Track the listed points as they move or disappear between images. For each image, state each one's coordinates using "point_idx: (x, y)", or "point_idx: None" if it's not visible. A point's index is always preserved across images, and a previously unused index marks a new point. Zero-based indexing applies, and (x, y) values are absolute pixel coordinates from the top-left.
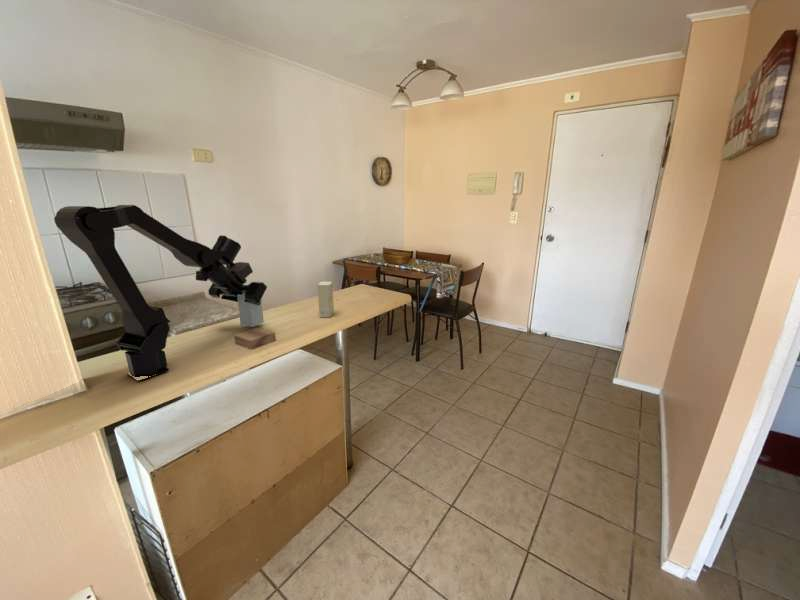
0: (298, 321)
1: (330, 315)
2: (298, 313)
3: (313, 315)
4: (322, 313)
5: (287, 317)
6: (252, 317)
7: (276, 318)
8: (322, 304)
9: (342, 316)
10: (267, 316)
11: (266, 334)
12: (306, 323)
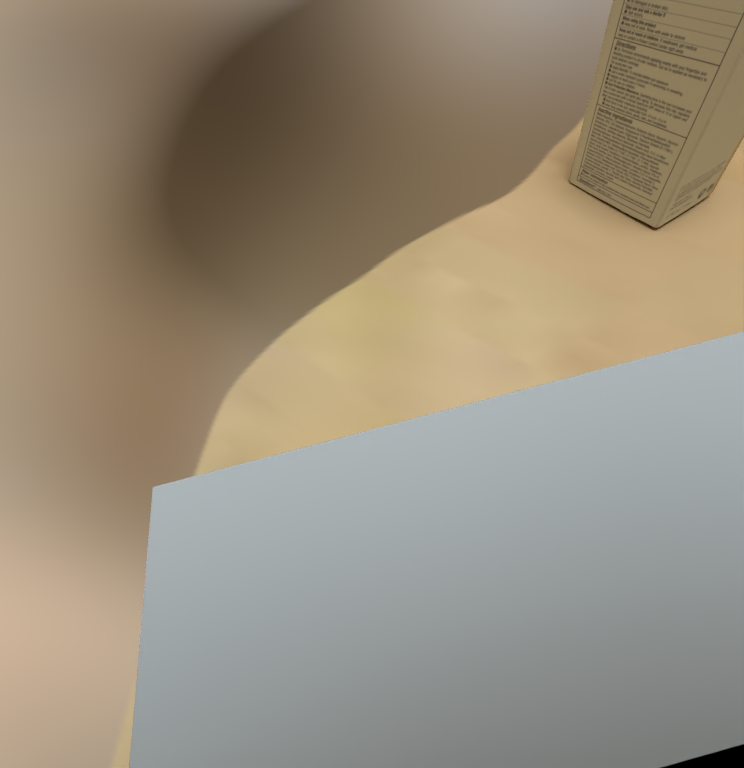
0: (632, 343)
1: (717, 182)
2: (457, 263)
3: (576, 232)
4: (685, 193)
5: (475, 341)
6: None
7: (428, 398)
8: (727, 119)
9: (733, 155)
10: (326, 411)
11: None
12: (728, 334)
